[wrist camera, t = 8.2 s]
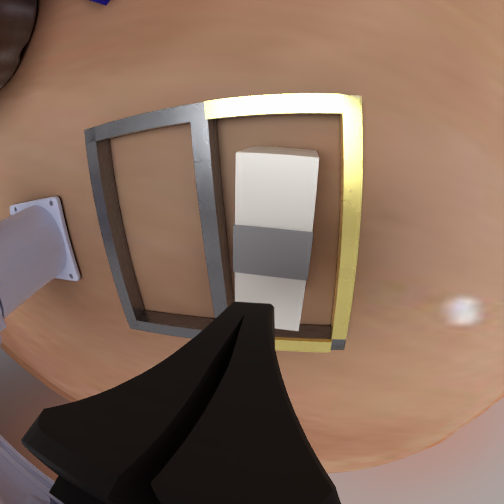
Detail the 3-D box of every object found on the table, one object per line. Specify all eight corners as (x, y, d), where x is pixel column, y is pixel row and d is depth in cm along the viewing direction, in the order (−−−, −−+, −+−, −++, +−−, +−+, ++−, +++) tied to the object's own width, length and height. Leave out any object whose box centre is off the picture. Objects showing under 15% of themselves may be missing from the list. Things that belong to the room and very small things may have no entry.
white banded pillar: (250, 281, 19) (233, 324, 15) (254, 145, 16) (233, 152, 12) (303, 288, 19) (299, 333, 15) (317, 150, 15) (320, 158, 11)
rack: (138, 318, 23) (128, 330, 22) (98, 128, 17) (81, 130, 15) (342, 336, 20) (344, 352, 18) (356, 98, 13) (362, 95, 12)
